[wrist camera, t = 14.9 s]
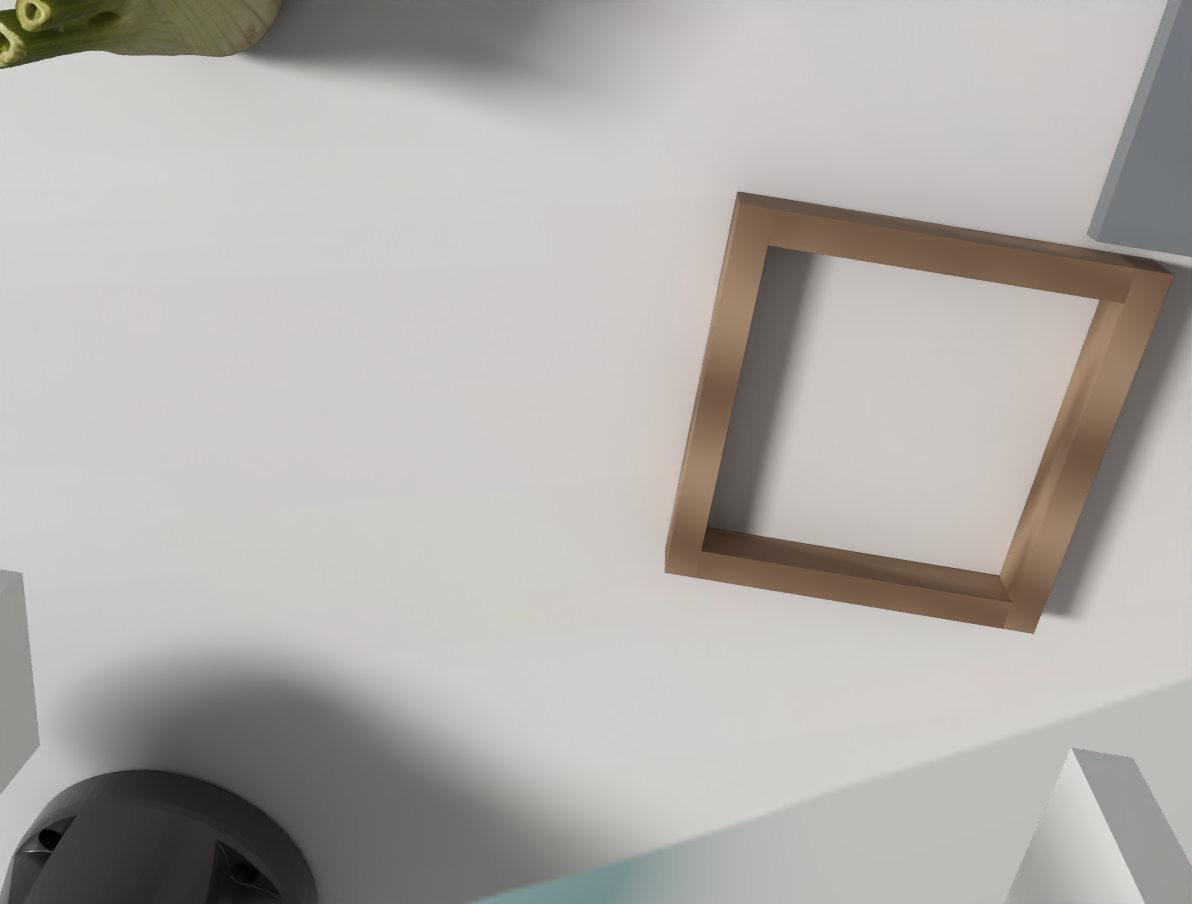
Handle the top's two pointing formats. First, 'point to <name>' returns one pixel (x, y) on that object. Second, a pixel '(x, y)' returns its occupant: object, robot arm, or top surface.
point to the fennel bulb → (132, 27)
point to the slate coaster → (1155, 150)
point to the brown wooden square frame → (1067, 462)
